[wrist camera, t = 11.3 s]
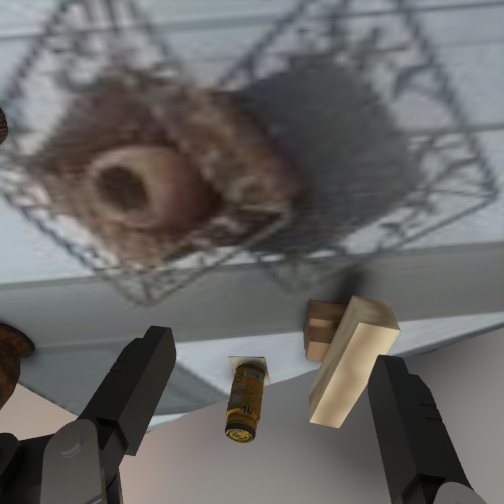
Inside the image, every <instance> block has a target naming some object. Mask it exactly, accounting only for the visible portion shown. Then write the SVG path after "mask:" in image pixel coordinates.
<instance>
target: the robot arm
mask: <svg viewBox="0 0 504 504" xmlns="http://www.w3.org/2000/svg"><path fill="white" fill-rule="evenodd" d="M175 361H176V348H175V343H174V339H173V334H172V330H171V328H168V327H160V326H151V327H150V328H149V329H148V330H147V332H146V334H145V335H144V337H143V338H135V339H134V340H133V341H132V342H130V343H129V344H128V345H127V346H126V347H125V348H124V349H123V351H122V352H121V354H120V355H119V357H118V358H117V361H116V362H115V363H114V364H113V366H112V368H111V369H110V372H109V373H108V374H107V375H106V377H105V378H104V380H103V381H102V383H101V384H100V386H99V388H98V389H97V391H96V392H95V394H94V395H93V397H92V398H91V400H90V401H89V403H88V404H87V406H86V408H85V409H84V411H83V412H82V413H81V415H80V416H79V417H78V418H77V419H76V420H75V421H72V422H70V423H68V424H66V425H65V426H63V427H62V428H60V429H59V430H58V431H57V432H56V433H54V434H50V435H46V436H41V437H36V438H31V439H26V440H20V441H19V440H18V439H17V438H16V437H15V436H14V435H13V434H11V433H0V504H123V496H122V488H121V480H120V472H119V465H120V463H121V461H122V459H123V457H124V455H125V454H126V455H131V456H135V455H136V453H137V451H138V448H139V446H140V444H141V441H142V439H143V437H144V434H145V432H146V430H147V428H148V425H149V423H150V421H151V418H152V416H153V414H154V411H155V409H156V407H157V405H158V402H159V400H160V398H161V395H162V393H163V391H164V388H165V386H166V384H167V382H168V379H169V377H170V375H171V372H172V370H173V368H174V365H175ZM368 395H369V400H370V405H371V410H372V414H373V419H374V423H375V428H376V433H377V438H378V442H379V447H380V452H381V456H382V461H383V465H384V470H385V475H386V479H387V484H388V489H389V493H390V498H391V503H392V504H487V503H486V502H485V501H484V500H483V499H482V498H481V497H480V496H479V495H478V494H477V493H476V492H475V491H474V490H473V488H472V487H471V485H470V484H469V482H468V480H467V478H466V475H465V473H464V471H463V468H462V466H461V463H460V461H459V459H458V457H457V454H456V451H455V449H454V447H453V444H452V442H451V440H450V437H449V435H448V432H447V430H446V427H445V425H444V423H443V422H442V418H441V416H440V413H439V411H438V409H437V408H436V403H435V401H434V398H433V396H432V394H431V391H430V389H429V388H428V387H427V386H426V384H425V383H424V382H423V381H422V379H421V378H420V377H419V376H418V375H414V374H409V373H408V370H407V367H406V364H405V362H404V360H403V359H402V358H401V357H397V356H388V355H380V354H379V355H378V356H377V358H376V361H375V364H374V366H373V369H372V371H371V374H370V376H369V379H368Z"/></svg>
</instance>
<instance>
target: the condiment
mask: <svg viewBox="0 0 504 504" xmlns="http://www.w3.org/2000/svg"><path fill="white" fill-rule="evenodd" d="M228 358H229V361H230V364H231V367H232V370H233V373H234V380H233V384H232V388H231V394H230V398H229V402H228V408H227V413H226V416H227V422H226V428H225V433H226V435H227V437H229V438H230V439H231V440H233V441H236V442H240V443H248V442H251V441H253V440H254V438H255V433H256V432H255V431H256V428H257V426H256V425H257V424H258V422H259V419H260V411H261V401H262V393H263V385H264V384H270V380H269V376H268V371H267V367H266V363H265V358H257V357H228ZM240 363H241V364H240Z"/></svg>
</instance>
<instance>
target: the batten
mask: <svg viewBox="0 0 504 504" xmlns="http://www.w3.org/2000/svg"><path fill="white" fill-rule="evenodd" d="M400 331H401V330H400V328H399V326H398V323H397V321H396V318H395V316H394V313H393V311H392V309H391V306H390V304H389V302H384V301H379V300H373V299H368V298H363V297H358V296H353V295H352V297H351V300H350V302H349V304H348V306H347V309H346V311H345V313H344V315H343V318H342V320H341V322H340V324H339V327H338V329H337V331H336V333H335V336H334V338H333V340H332V342H331V345H330V347H329V349H328V351H327V354H326V356H325V358H324V360H323V362H322V365H321V367H320V369H319V371H318V374H317V376H316V379H315V381H314V383H313V385H312V387H311V390H310V392H309V419H310V422H312V423H316V424H321V425H326V426H330V427H335V428H339V427H340V426H341V424H342V423H343V421H344V420H345V418H346V416H347V415H348V413H349V411H350V410H351V408H352V407H353V405H354V404H355V402H356V400H357V399H358V397H359V396H360V394H361V393H362V391H363V389H364V388H365V386H366V385H367V383H368V379H369V376H370V374H371V371H372V369H373V366H374V364H375V361H376V358H377V356H378V355H379V354H380V355H386V353H387V351H388V350H389V348H390V347H391V345H392V343H393V342H394V340H395V339H396V337H397V336H398V334H399V332H400Z"/></svg>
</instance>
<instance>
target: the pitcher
mask: <svg viewBox="0 0 504 504" xmlns="http://www.w3.org/2000/svg"><path fill="white" fill-rule="evenodd" d="M34 350H35V348H34V345H33V344H32V342H31V341H30V340H29V339H28V338H27V337H26V336H25V335H24V334H22V333H21V332H19V331H18V330H16V329H14V328H12V327H10V326H8V325H5V324H1V323H0V410H1V408H2V407H3V406H4V404H5V403H6V402H7V401H8V399H9V398H10V397H11V395H12V394H13V392H14V389H15V387H16V384H17V381H18V379H19V376H20V359H19V357H21V356H22V357H25V356H30V355H32V354H33V352H34Z"/></svg>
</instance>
